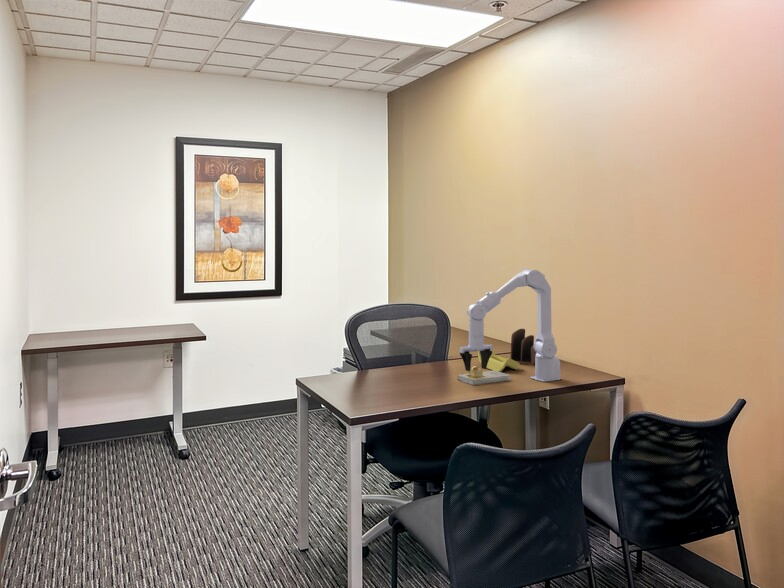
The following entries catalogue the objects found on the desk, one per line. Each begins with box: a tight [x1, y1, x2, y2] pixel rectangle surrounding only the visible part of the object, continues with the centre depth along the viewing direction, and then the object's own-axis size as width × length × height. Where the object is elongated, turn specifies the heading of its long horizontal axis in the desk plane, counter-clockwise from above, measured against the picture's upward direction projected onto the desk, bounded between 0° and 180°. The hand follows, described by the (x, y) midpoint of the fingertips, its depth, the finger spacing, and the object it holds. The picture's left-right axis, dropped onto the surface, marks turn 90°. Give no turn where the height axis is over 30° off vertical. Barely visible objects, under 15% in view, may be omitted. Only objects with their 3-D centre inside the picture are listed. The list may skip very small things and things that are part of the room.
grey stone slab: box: [457, 370, 511, 386], centre depth 243 cm, size 18×10×2 cm, turn 118°
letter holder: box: [509, 328, 536, 365], centre depth 284 cm, size 10×20×14 cm, turn 152°
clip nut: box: [467, 365, 484, 378], centre depth 241 cm, size 4×4×4 cm
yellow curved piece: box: [477, 351, 521, 372], centre depth 268 cm, size 20×7×10 cm
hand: (475, 369), depth 241 cm, fingers open, 7 cm apart
